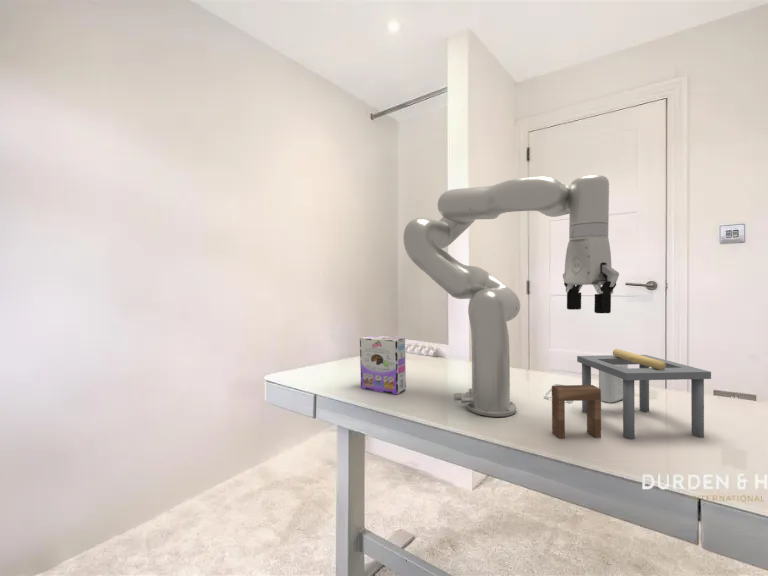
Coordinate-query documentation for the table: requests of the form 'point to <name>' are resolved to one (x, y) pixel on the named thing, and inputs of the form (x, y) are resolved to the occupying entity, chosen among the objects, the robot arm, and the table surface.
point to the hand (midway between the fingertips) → (587, 311)
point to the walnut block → (576, 394)
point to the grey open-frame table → (646, 383)
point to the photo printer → (611, 386)
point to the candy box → (383, 364)
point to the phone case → (550, 391)
